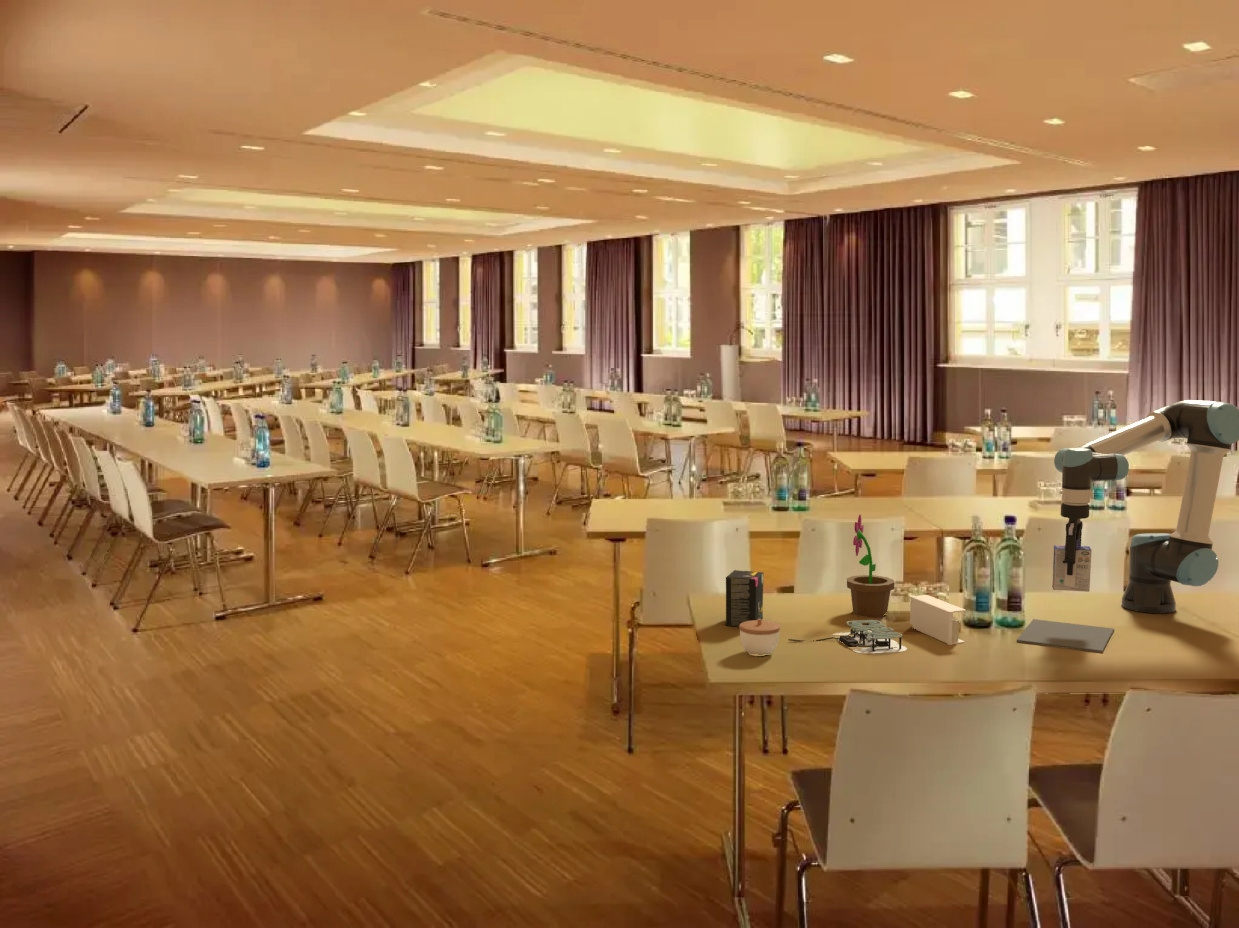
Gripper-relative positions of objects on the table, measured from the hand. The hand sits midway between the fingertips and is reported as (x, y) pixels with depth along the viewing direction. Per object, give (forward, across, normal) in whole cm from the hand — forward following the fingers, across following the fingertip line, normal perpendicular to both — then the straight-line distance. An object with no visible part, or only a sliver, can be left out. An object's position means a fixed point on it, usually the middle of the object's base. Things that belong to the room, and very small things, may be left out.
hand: (1071, 583), depth 325 cm
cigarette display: (+14, +22, -32) cm, 42 cm away
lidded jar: (+14, +63, -69) cm, 94 cm away
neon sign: (+15, +43, -52) cm, 69 cm away
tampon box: (+14, +36, -85) cm, 93 cm away
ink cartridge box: (+2, 0, 0) cm, 2 cm away
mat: (+14, +6, 0) cm, 15 cm away
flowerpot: (+14, +8, -56) cm, 58 cm away
